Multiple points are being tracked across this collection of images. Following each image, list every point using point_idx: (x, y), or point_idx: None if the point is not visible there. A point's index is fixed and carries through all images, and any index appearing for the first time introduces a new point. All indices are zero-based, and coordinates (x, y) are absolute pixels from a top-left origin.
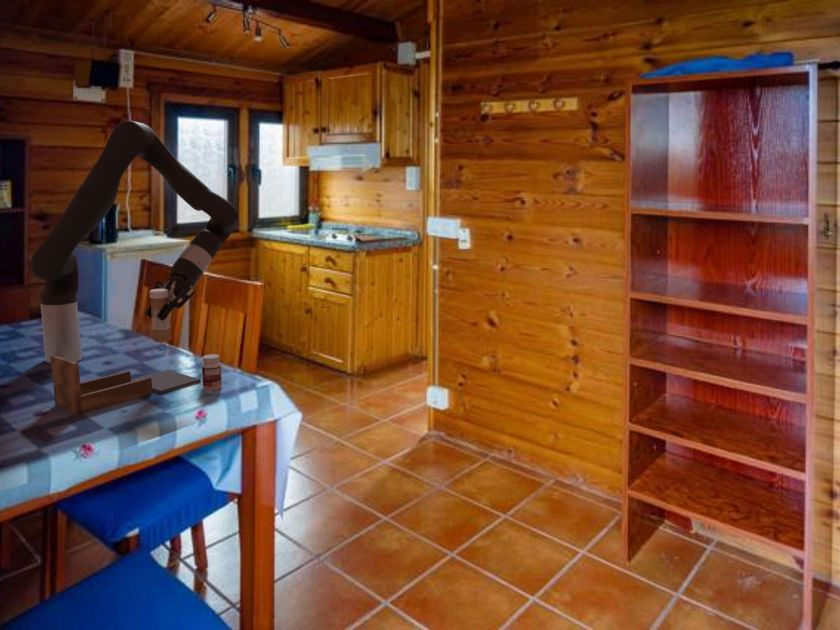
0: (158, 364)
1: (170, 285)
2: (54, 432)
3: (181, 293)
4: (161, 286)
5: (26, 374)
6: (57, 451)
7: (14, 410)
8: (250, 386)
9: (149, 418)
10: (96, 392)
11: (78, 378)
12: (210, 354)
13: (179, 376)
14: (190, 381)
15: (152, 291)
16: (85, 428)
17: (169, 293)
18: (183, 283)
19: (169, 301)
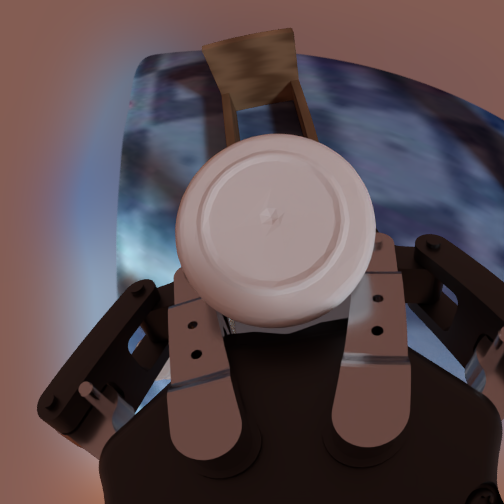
0: (442, 345)
1: (329, 414)
2: (187, 81)
3: (86, 350)
4: (490, 359)
5: (488, 129)
6: (137, 83)
7: (312, 60)
8: (146, 400)
9: (134, 180)
10: (223, 114)
11: (211, 70)
12: (167, 370)
13: (295, 330)
14: (238, 328)
15: (246, 141)
16: (169, 107)
17: (200, 309)
18: (110, 462)
19: (179, 280)
